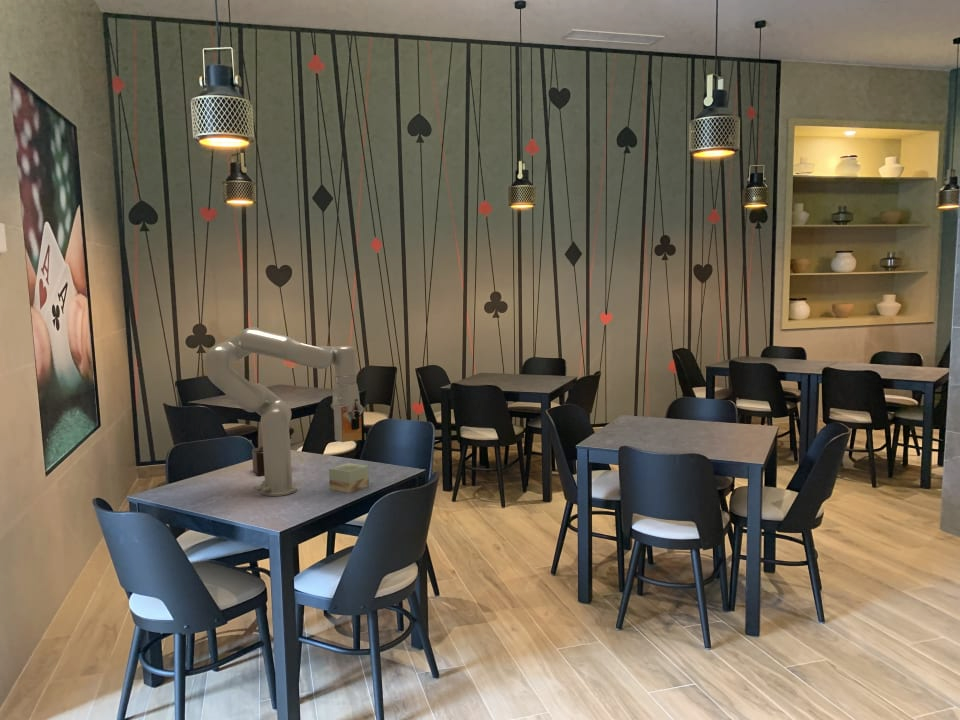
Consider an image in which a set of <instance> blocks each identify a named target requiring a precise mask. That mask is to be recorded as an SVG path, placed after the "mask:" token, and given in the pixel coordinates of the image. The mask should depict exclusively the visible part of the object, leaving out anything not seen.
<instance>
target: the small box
mask: <svg viewBox="0 0 960 720" xmlns="http://www.w3.org/2000/svg"><path fill="white" fill-rule="evenodd" d="M356 408H357V407H356V406H355V407H354V410H356ZM357 409H358V408H357ZM354 414H356V412H354ZM333 419H334V421H333V423H334V424H333V425H334V427H333V428H334V440H335V441H338V442H340V443H346V442H352V441H353V442H354V441H355V442H356V441H362V438H363V436H362V435H363V434H362V429H363V428H362V415H361V416H360V418H359V429H356V430H352V422H351V420H352V419H353V418H352V415H351V413H350V412H346V407H345V406H338V405H334V412H333Z"/></svg>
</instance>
